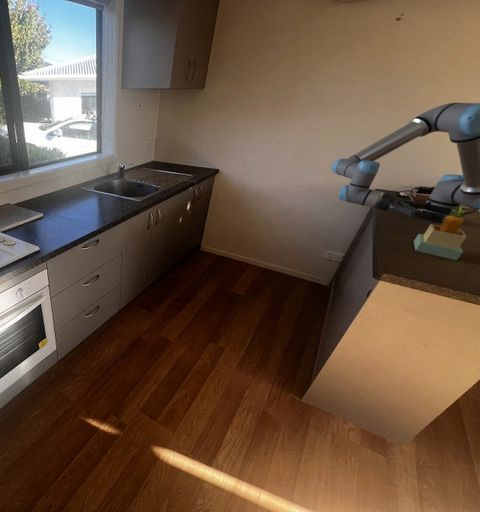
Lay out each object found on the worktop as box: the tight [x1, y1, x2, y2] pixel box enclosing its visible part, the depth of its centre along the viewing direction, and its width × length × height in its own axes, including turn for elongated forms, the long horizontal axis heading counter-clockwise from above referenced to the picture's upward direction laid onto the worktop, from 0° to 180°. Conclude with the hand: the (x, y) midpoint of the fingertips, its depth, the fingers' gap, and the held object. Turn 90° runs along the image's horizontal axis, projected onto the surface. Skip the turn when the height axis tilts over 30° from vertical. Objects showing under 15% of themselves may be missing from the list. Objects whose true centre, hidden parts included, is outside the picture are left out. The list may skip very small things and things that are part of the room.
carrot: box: [439, 206, 467, 234], centre depth 117 cm, size 5×5×15 cm
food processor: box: [413, 223, 467, 261], centre depth 120 cm, size 13×12×10 cm
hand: (447, 215), depth 117 cm, fingers open, 13 cm apart
